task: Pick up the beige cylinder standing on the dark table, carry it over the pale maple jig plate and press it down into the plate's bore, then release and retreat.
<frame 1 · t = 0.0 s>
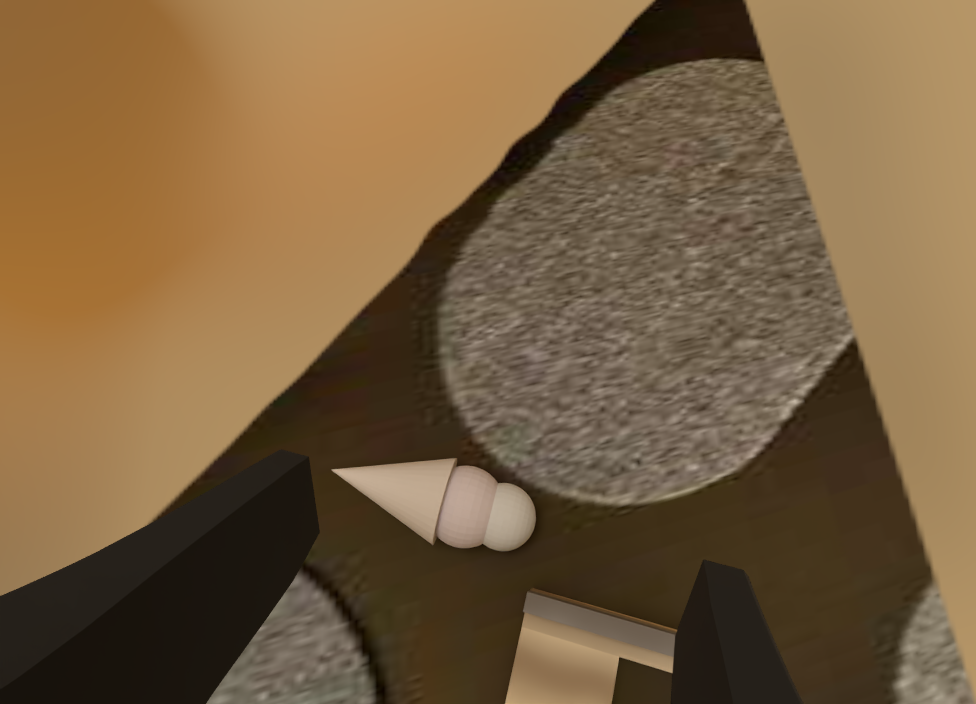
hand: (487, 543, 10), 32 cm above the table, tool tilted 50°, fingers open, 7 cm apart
ice cream cone: (442, 503, 43), on the table
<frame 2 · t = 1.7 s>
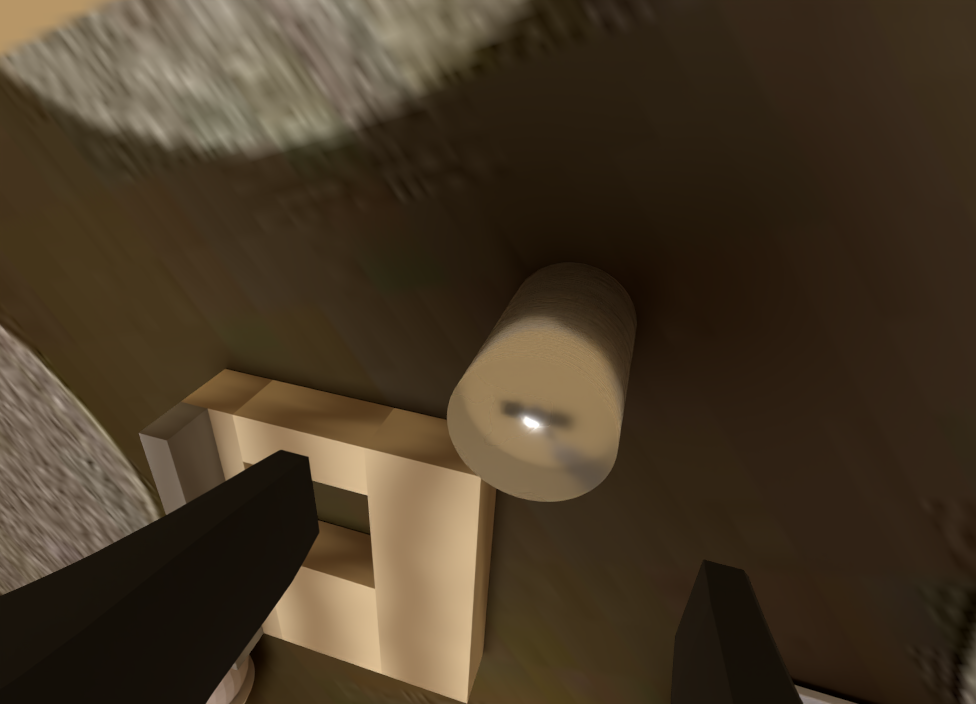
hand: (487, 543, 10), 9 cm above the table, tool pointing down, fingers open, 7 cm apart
beige cylinder: (571, 322, 18), on the table
ice cream cone: (239, 645, 36), on the table
jig: (365, 523, 26), on the table
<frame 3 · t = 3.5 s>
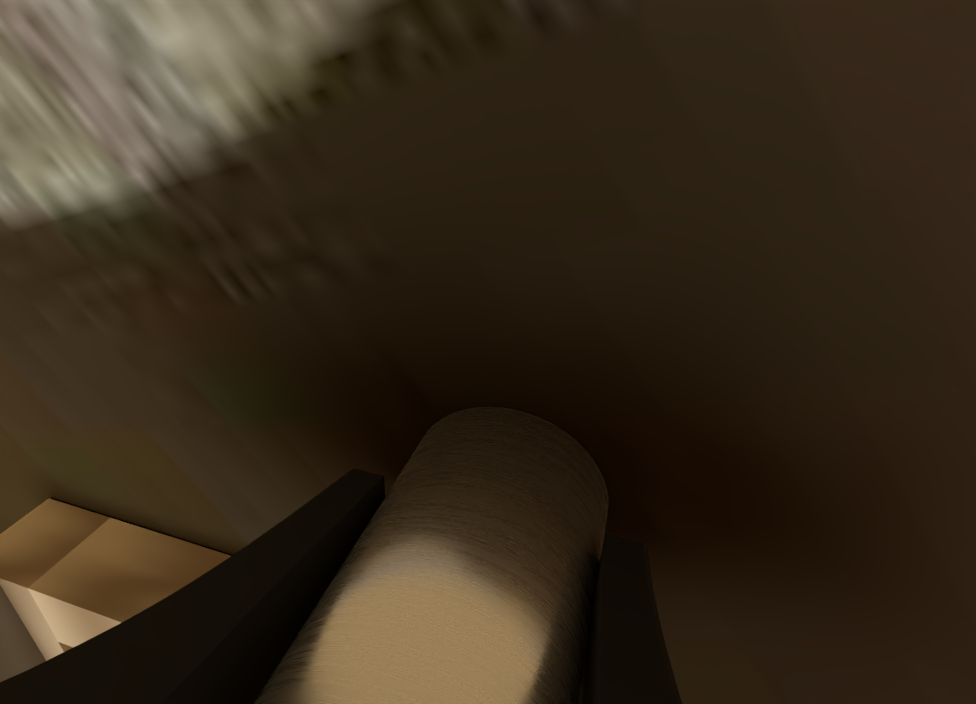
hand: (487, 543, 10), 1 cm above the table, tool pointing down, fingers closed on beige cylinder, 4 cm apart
beige cylinder: (507, 489, 11), on the table, touching gripper
jig: (257, 690, 19), on the table
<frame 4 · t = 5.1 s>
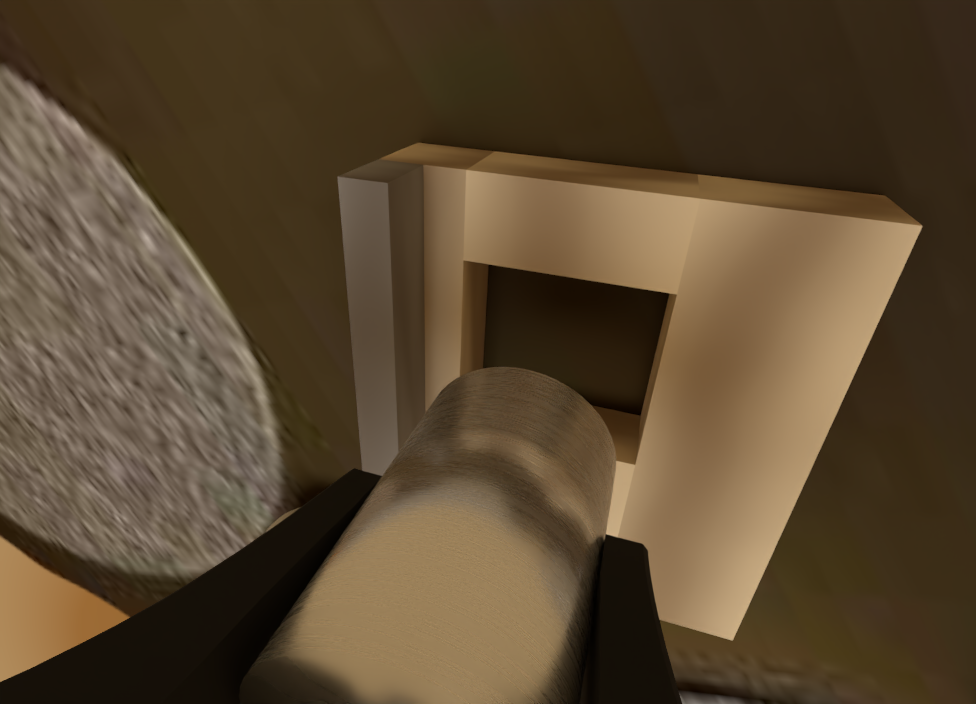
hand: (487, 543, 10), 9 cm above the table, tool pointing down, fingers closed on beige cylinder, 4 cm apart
beige cylinder: (517, 451, 12), point 7 cm above the table, touching gripper
jig: (591, 387, 18), on the table
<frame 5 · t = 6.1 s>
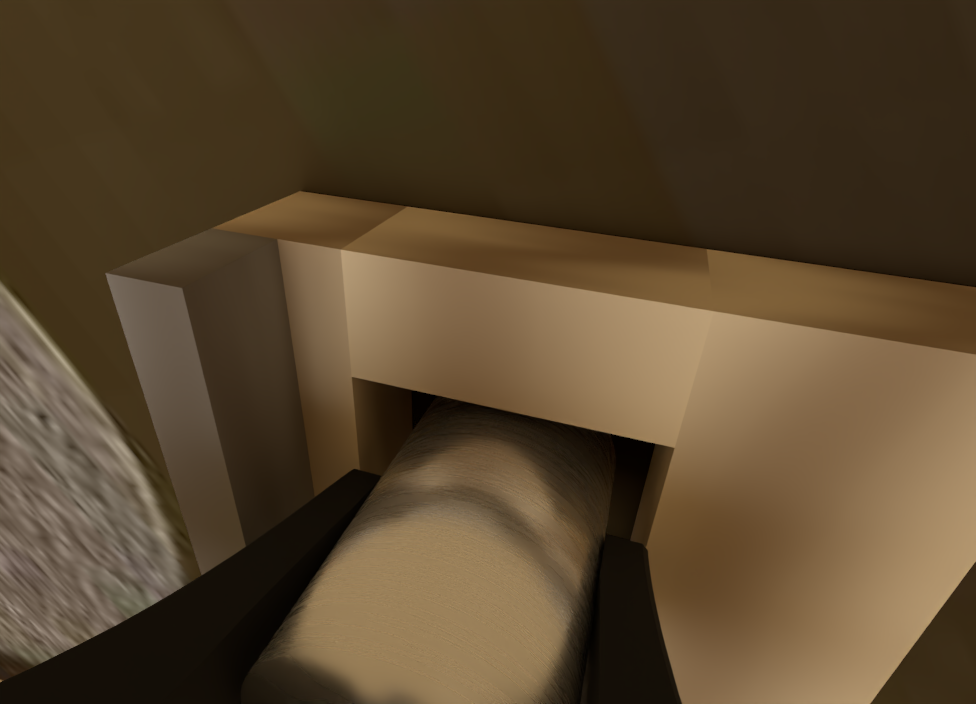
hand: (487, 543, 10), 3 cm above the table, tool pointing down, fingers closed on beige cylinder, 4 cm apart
beige cylinder: (516, 450, 12), point 1 cm above the table, touching gripper
jig: (558, 519, 13), on the table
when the fingers open (3 cm above the table, at t = 6.8 s): beige cylinder stays where it is, resting in jig.
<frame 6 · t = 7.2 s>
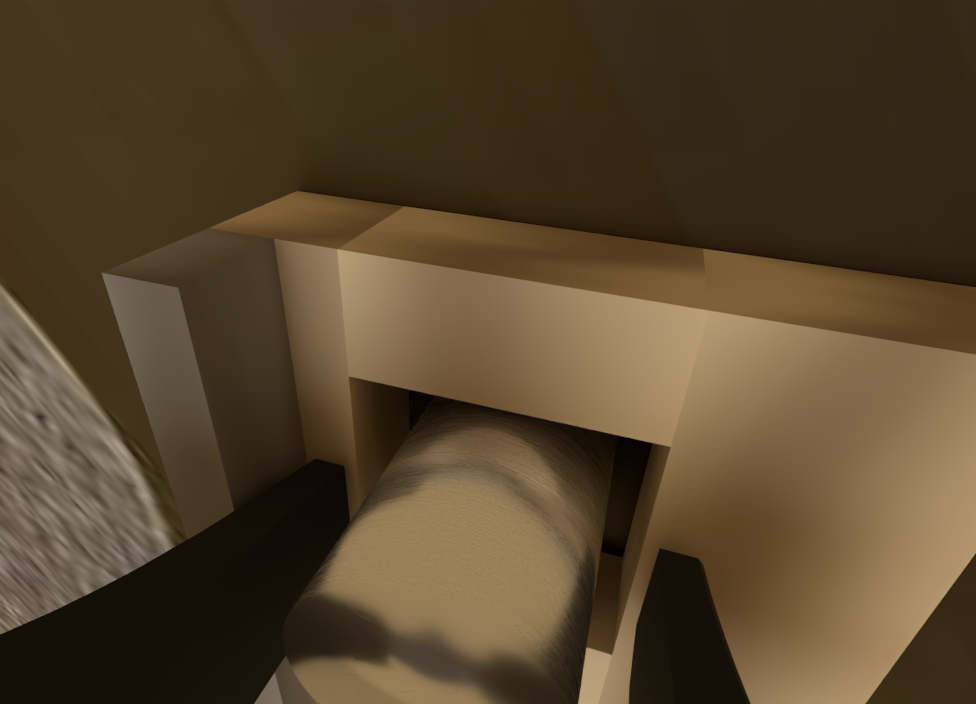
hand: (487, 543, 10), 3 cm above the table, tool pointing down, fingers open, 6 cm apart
beige cylinder: (524, 424, 12), resting in jig
jig: (555, 518, 13), on the table
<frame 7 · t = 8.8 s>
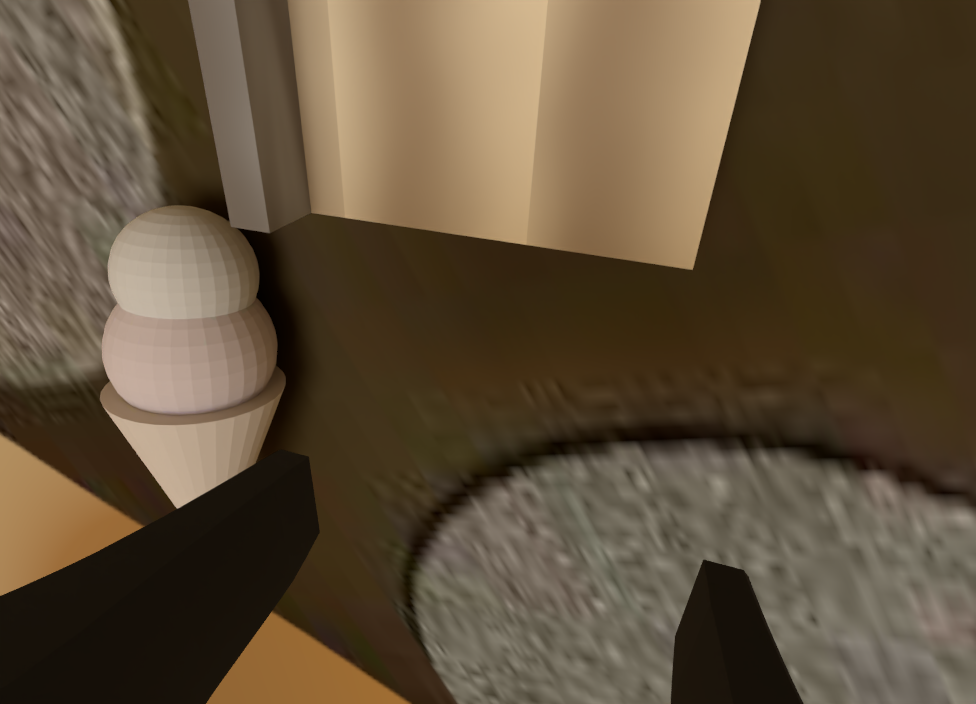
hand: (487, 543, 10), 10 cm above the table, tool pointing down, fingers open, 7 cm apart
ice cream cone: (259, 363, 24), on the table
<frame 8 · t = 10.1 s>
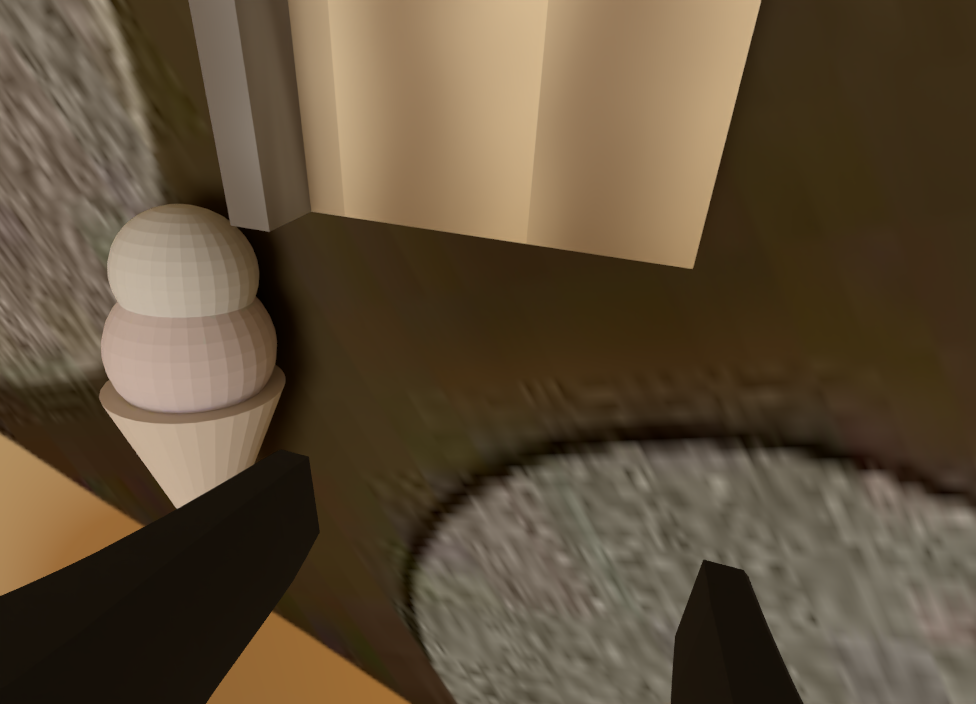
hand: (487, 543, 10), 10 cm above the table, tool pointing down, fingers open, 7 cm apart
ice cream cone: (259, 362, 24), on the table
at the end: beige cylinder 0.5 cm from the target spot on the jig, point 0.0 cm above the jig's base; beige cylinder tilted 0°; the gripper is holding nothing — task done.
